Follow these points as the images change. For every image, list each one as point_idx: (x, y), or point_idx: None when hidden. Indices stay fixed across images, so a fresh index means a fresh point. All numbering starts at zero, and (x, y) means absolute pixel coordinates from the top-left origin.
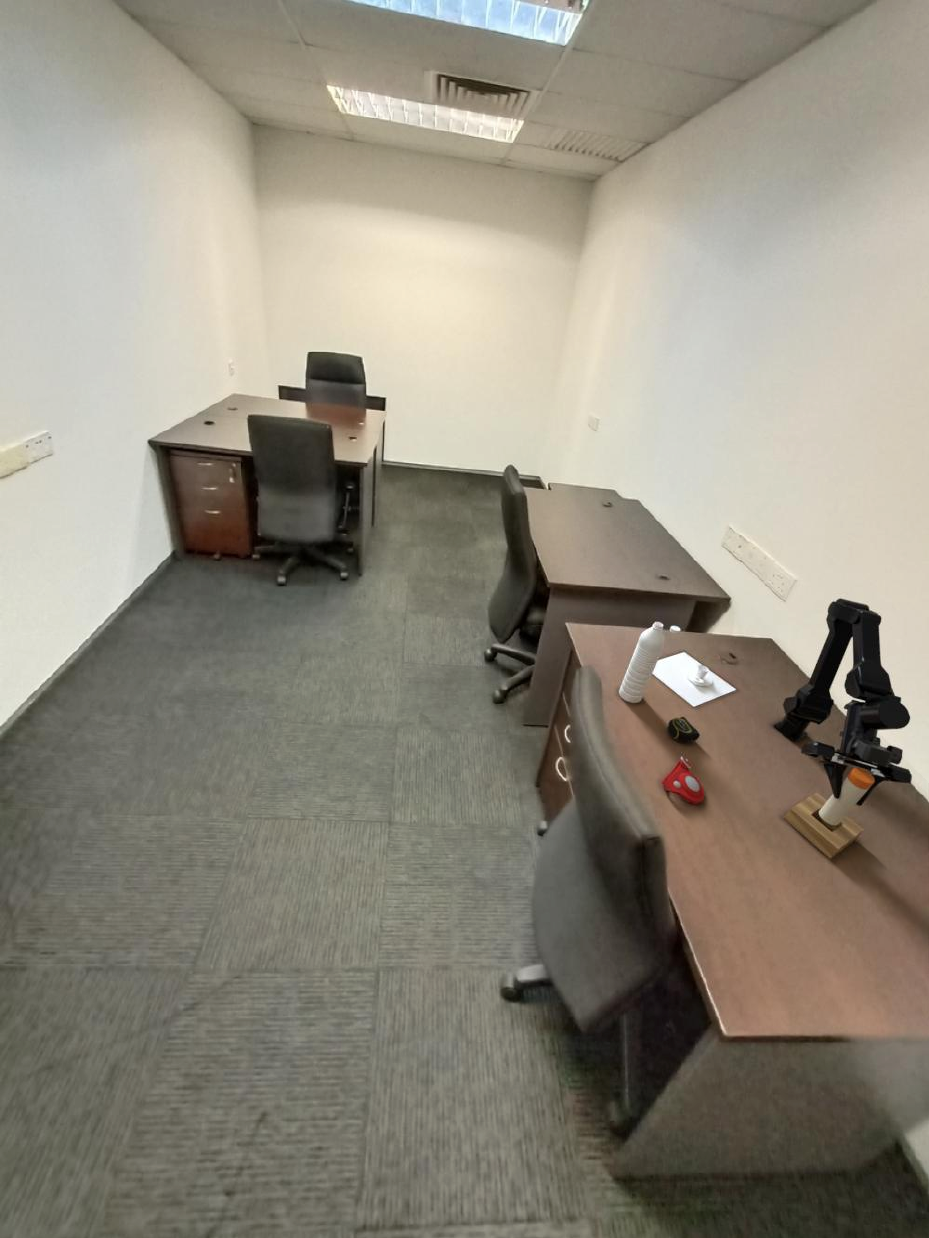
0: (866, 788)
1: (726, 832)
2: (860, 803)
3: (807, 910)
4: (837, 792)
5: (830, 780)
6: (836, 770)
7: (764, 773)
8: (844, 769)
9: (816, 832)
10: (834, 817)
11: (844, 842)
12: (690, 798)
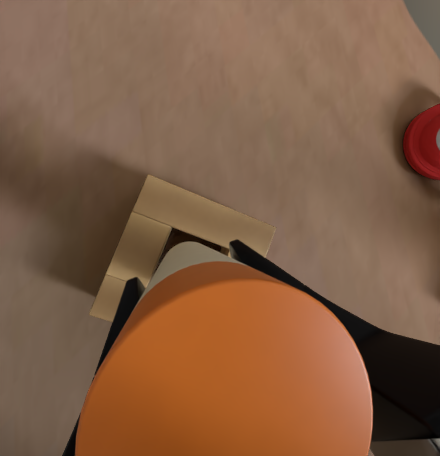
0: (148, 292)
1: (344, 96)
2: (134, 283)
3: (177, 5)
4: (253, 251)
5: None
6: (386, 335)
7: None
8: (379, 379)
9: (205, 198)
10: (186, 243)
11: (136, 211)
12: (436, 107)
